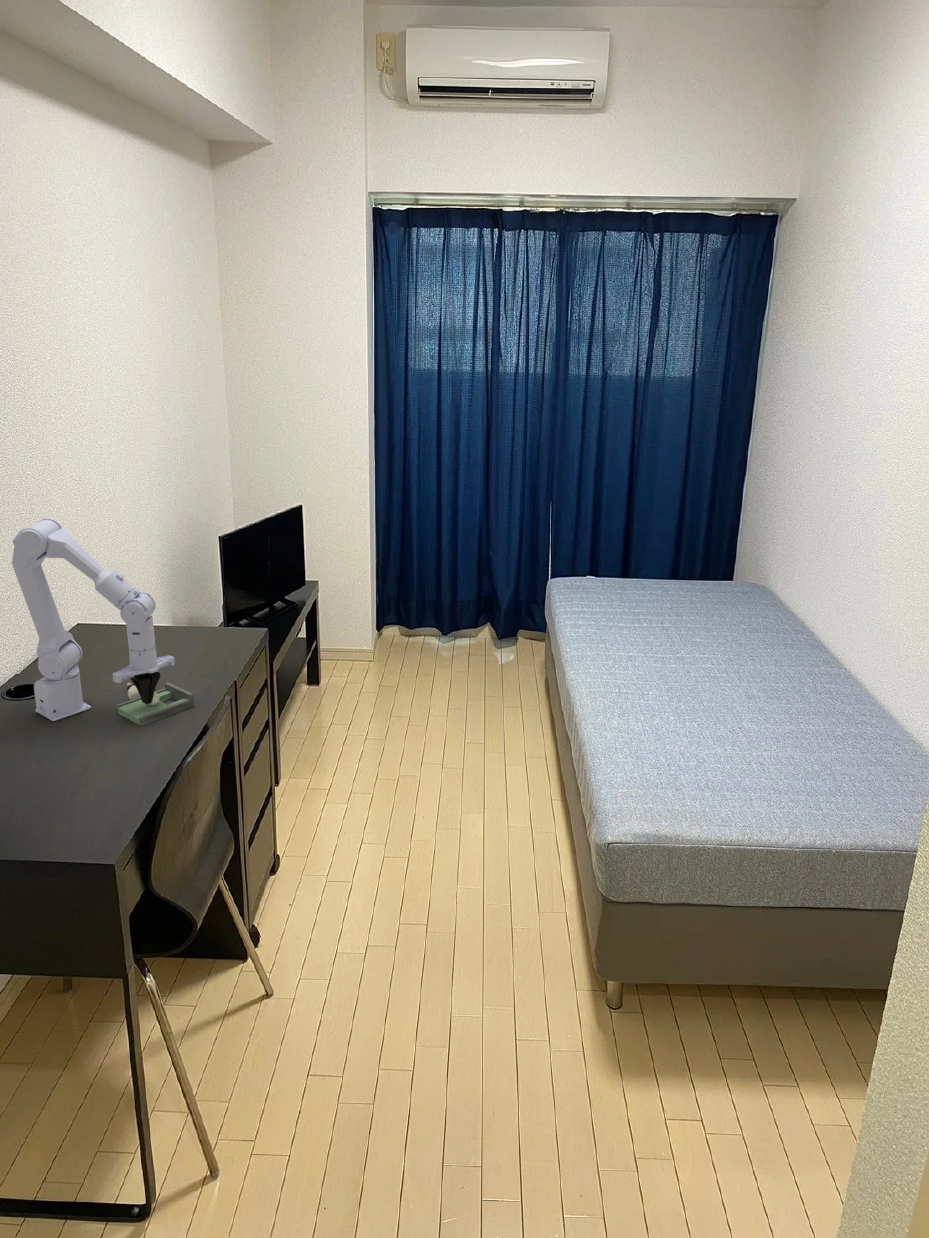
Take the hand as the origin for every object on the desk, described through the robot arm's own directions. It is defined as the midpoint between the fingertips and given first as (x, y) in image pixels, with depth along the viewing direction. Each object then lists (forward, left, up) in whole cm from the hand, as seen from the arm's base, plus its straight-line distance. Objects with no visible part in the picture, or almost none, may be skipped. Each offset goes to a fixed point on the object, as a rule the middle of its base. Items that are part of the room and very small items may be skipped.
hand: (147, 702), depth 208 cm
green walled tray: (+2, 0, -3) cm, 3 cm away
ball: (+1, 0, 0) cm, 1 cm away
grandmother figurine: (+11, +16, -1) cm, 19 cm away
